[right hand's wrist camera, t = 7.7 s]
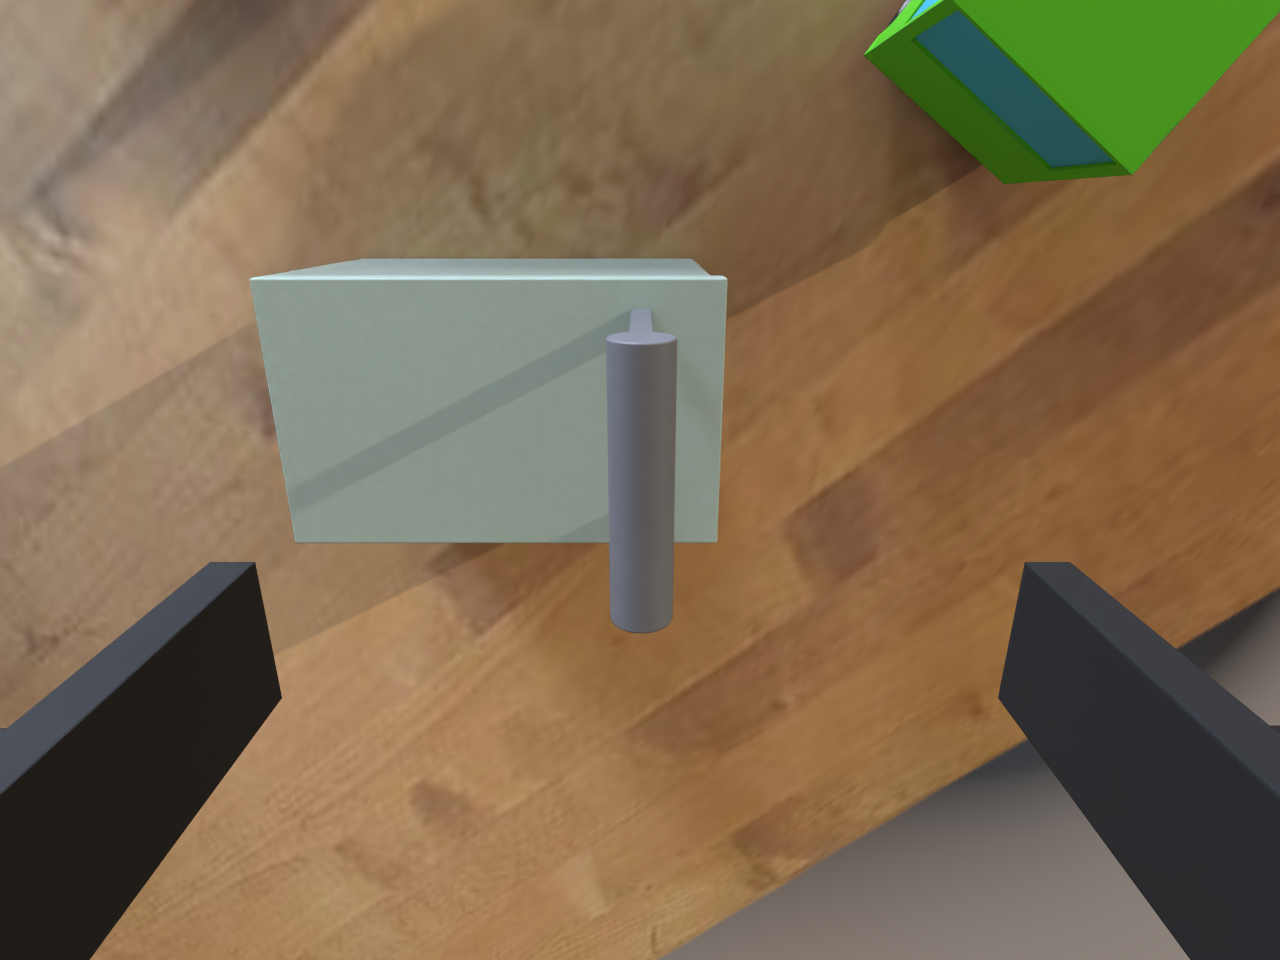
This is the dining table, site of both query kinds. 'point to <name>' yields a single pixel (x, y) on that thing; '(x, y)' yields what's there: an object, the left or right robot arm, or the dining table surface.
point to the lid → (503, 414)
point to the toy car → (1063, 75)
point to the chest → (505, 267)
